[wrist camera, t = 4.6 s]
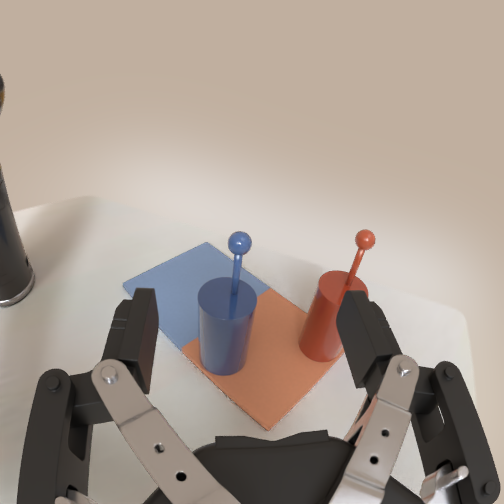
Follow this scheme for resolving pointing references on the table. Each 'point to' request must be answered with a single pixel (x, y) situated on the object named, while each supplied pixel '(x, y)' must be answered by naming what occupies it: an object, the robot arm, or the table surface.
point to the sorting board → (262, 337)
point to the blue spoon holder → (226, 315)
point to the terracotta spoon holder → (331, 306)
